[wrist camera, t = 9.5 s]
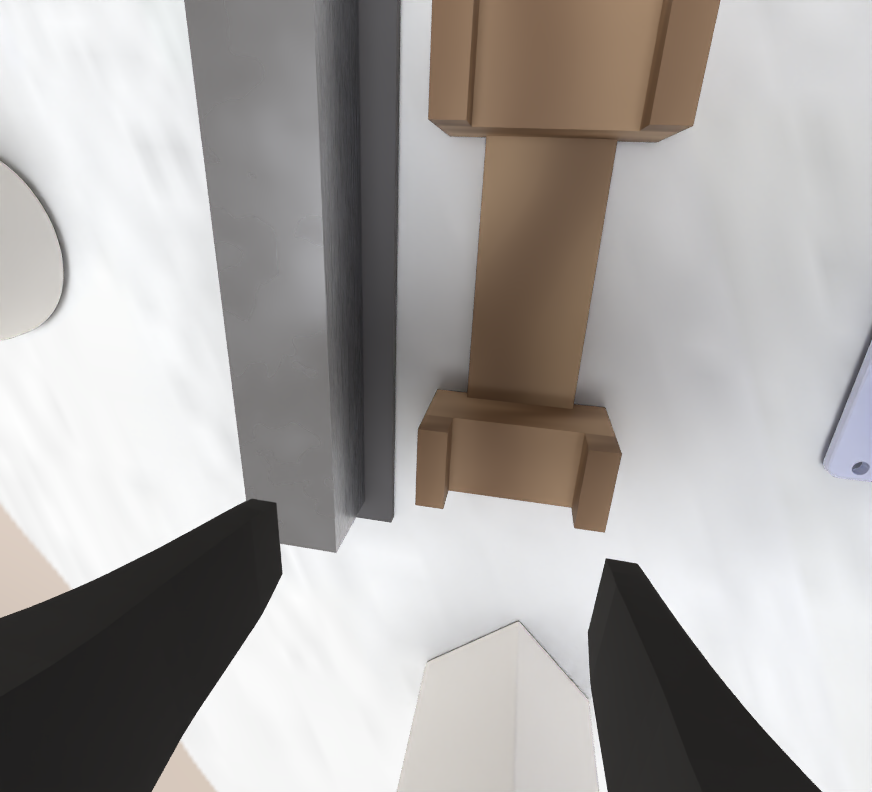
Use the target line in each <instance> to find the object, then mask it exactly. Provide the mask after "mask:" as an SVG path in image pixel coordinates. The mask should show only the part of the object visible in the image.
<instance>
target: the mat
mask: <svg viewBox="0 0 872 792" xmlns="http://www.w3.org/2000/svg"><path fill="white" fill-rule="evenodd" d="M399 57H400V0H359V70H360V148H361V225H362V303H363V380H364V458H365V502H364V504H363V505H362V507H361V509H360V511H359V513H358V514H357V516H356V517H358V518H365V519H372V520H378V521H385V522H392V519H393V515H394V439H395V362H396V286H397V210H398V134H399Z"/></svg>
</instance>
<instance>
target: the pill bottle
mask: <svg viewBox="0 0 872 792" xmlns="http://www.w3.org/2000/svg"><path fill="white" fill-rule="evenodd" d="M62 287H63V261H62V254H61V250H60V246H59V242H58V239H57V236H56V233H55V230H54V228H53V226H52V223H51V221H50V219H49V217H48V215H47V213H46V211H45V210H44V208H43V206H42V205H41V203H40V202H39V200H38V199H37V197H36V196H35V194H34V193H33V192H32V190H31V189H30V188H29V187H28V186H27V184H26V183H25V182H24V181H23V180H22V179H21V178H20V177H19V176H18V175H17V174H16V173H15V172H14V171H13V170H12V169H10V168H9V167H8V166H7V165H5V164H4V163H3V162H1V161H0V341H3V340H6V339H10V338H14V337H16V336H18V335H21V334H24V333H27V332H29V331H31V330H33V329H35V328H37V327H38V326H40V325H41V324H43V323H44V322H45V321H46V320H47V319H48V318H49V317H50V315H51V314H52V313H53V311H54V310H55V308H56V306H57V304H58V302H59V299H60V296H61V292H62Z"/></svg>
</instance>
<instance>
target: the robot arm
mask: <svg viewBox="0 0 872 792" xmlns="http://www.w3.org/2000/svg"><path fill="white" fill-rule="evenodd" d="M858 462H862V465H861V466H860V467H858V468H856V469H852V467H853V466H854V464H856V463H858ZM823 465H824V468H825V469H826V470H827V471H828V472H829V473H830V474H831V475H832V476H834V477H838V478H844V479H852V480H860V481H868V482H872V341H871V343H870V346H869V348H868V351H867V353H866V356H865V358H864V361H863V363H862V366H861V368H860V371H859V373H858V376H857V378H856V381H855V383H854V386H853V388H852V391H851V393H850V396H849V398H848V401H847V403H846V406H845V408H844V411H843V413H842V416H841V418H840V421H839V423H838V426H837V428H836V431H835V433H834V436H833V438H832V441H831V443H830V446H829V448H828V451H827V453H826V456H825V458H824V462H823ZM281 575H282V563H281V551H280V539H279V527H278V515H277V503H275V502H270V501H264V500H258V499H250V500H248V501H245V502H243V503H241V504H239V505H237V506H235V507H234V508H232V509H230V510H228V511H226V512H224V513H222V514H221V515H219V516H217V517H215V518H213V519H211V520H210V521H208V522H206V523H204V524H202V525H201V526H199V527H197V528H195V529H193V530H191V531H190V532H188V533H186V534H184V535H182V536H180V537H179V538H177V539H175V540H173V541H171V542H169V543H167V544H166V545H164V546H162V547H160V548H158V549H156V550H154V551H152V552H150V553H148V554H146V555H144V556H142V557H140V558H138V559H136V560H134V561H132V562H130V563H128V564H126V565H124V566H122V567H120V568H118V569H116V570H114V571H112V572H110V573H108V574H106V575H104V576H102V577H100V578H97V579H95V580H93V581H91V582H89V583H86V584H84V585H82V586H80V587H77V588H75V589H73V590H70V591H68V592H66V593H63V594H61V595H59V596H56V597H54V598H51V599H49V600H47V601H44V602H42V603H39V604H37V605H34V606H32V607H29V608H27V609H24V610H21V611H18V612H16V613H13V614H10V615H7V616H4V617H2V618H0V792H152V790H153V788H154V786H155V784H156V783H157V781H158V779H159V777H160V775H161V774H162V772H163V770H164V768H165V766H166V765H167V763H168V761H169V759H170V757H171V755H172V754H173V752H174V750H175V748H176V746H177V745H178V743H179V741H180V739H181V737H182V736H183V734H184V733H185V731H186V729H187V728H188V726H189V724H190V723H191V721H192V720H193V718H194V716H195V715H196V713H197V712H198V710H199V709H200V707H201V706H202V704H203V703H204V701H205V700H206V698H207V697H208V695H209V694H210V692H211V691H212V689H213V688H214V686H215V685H216V683H217V682H218V680H219V679H220V677H221V676H222V674H223V673H224V671H225V670H226V668H227V667H228V665H229V664H230V662H231V661H232V659H233V658H234V657H235V655H236V654H237V652H238V651H239V649H240V648H241V646H242V645H243V643H244V641H245V640H246V638H247V637H248V635H249V634H250V632H251V631H252V629H253V628H254V626H255V625H256V623H257V622H258V620H259V619H260V617H261V615H262V613H263V612H264V610H265V608H266V606H267V604H268V602H269V600H270V598H271V596H272V594H273V592H274V590H275V588H276V586H277V584H278V582H279V580H280V578H281ZM588 646H589V667H590V684H591V691H592V697H593V704H594V710H595V716H596V722H597V729H598V735H599V741H600V747H601V753H602V759H603V765H604V771H605V777H606V784H607V790H608V792H822V791H821V790H820V789H819V788H818V787H817V786H816V785H815V784H814V783H813V782H812V781H811V780H810V779H809V778H808V777H807V776H806V775H805V774H804V773H803V772H802V770H801V769H800V768H799V767H798V766H797V765H796V764H795V763H794V762H793V761H792V760H791V759H790V758H789V756H788V755H787V754H786V753H785V752H784V751H783V750H782V749H781V748H780V747H779V746H778V745H777V744H776V742H775V741H774V740H773V739H772V738H771V737H770V736H769V735H768V734H767V733H766V732H765V730H764V729H763V728H762V727H761V726H760V725H759V724H758V722H757V721H756V720H755V719H754V718H753V717H752V716H751V714H750V713H749V712H748V711H747V710H746V709H745V707H744V706H743V705H742V704H741V702H740V701H739V700H738V699H737V698H736V696H735V695H734V694H733V693H732V692H731V690H730V689H729V688H728V687H727V686H726V684H725V683H724V682H723V681H722V679H721V678H720V677H719V675H718V674H717V673H716V672H715V670H714V669H713V668H712V667H711V665H710V664H709V663H708V661H707V660H706V659H705V657H704V656H703V655H702V653H701V652H700V651H699V649H698V648H697V647H696V645H695V644H694V643H693V641H692V640H691V639H690V637H689V636H688V635H687V633H686V632H685V631H684V629H683V628H682V627H681V625H680V624H679V622H678V621H677V620H676V618H675V617H674V615H673V614H672V613H671V611H670V610H669V608H668V607H667V605H666V604H665V603H664V601H663V600H662V598H661V597H660V595H659V594H658V592H657V591H656V590H655V588H654V587H653V585H652V584H651V582H650V581H649V579H648V578H647V576H646V575H645V574H644V572H643V571H642V569H641V568H640V567H639V565H638V564H636V563H630V562H624V561H618V560H612V559H607V558H606V560H605V564H604V569H603V573H602V577H601V581H600V585H599V589H598V593H597V597H596V601H595V606H594V610H593V614H592V618H591V622H590V626H589V630H588Z"/></svg>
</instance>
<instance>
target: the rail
mask: <svg viewBox="0 0 872 792" xmlns="http://www.w3.org/2000/svg"><path fill="white" fill-rule="evenodd" d="M184 2H185V10H186V18H187V26H188V34H189V42H190V50H191V58H192V66H193V74H194V82H195V91H196V99H197V107H198V115H199V123H200V131H201V139H202V147H203V155H204V163H205V171H206V179H207V187H208V195H209V203H210V211H211V220H212V228H213V236H214V244H215V252H216V260H217V268H218V276H219V284H220V292H221V300H222V308H223V316H224V324H225V332H226V340H227V349H228V357H229V365H230V373H231V381H232V389H233V397H234V405H235V413H236V421H237V429H238V437H239V445H240V453H241V461H242V469H243V478H244V486H245V494H246V501H248V500H250V499H258V500H264V501H270V502H275V503H277V515H278V527H279V539H280V544H286V545H292V546H298V547H305V548H311V549H317V550H323V551H329V552H335V553H336V552H337V551H338V549H339V547H340V545H341V543H342V542H343V540H344V538H345V536H346V534H347V532H348V531H349V529H350V527H351V525H352V523H353V522H354V520H355V518H356V516H357V514H358V513H359V511H360V509H361V507H362V505H363V504H364V502H365V458H364V380H363V303H362V225H361V148H360V70H359V0H184Z"/></svg>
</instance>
